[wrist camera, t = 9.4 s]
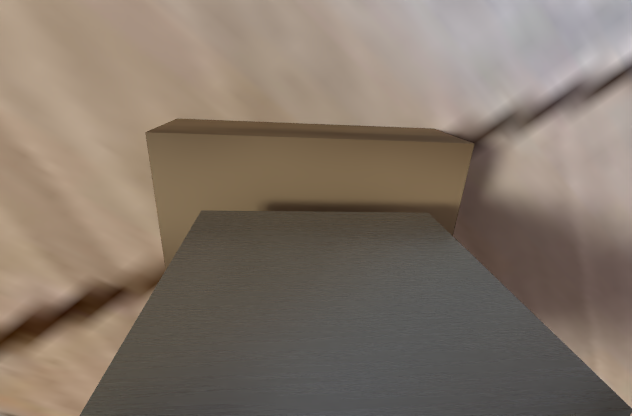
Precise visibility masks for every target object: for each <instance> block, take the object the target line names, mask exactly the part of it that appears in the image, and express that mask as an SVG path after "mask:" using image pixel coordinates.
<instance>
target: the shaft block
mask: <svg viewBox="0 0 632 416" xmlns="http://www.w3.org/2000/svg"><path fill="white" fill-rule="evenodd" d="M145 133H146V139H147V146H148V153H149V160H150V167H151V173H152V180H153V187H154V194H155V201H156V207H157V214H158V221H159V228H160V235H161V241H162V248H163V255H164V262H165V268H166V269H167V267H168V266H169V264H170V262H171V261H172V259H173V257H174V256H175V254H176V252H177V251H178V249H179V247H180V246H181V244H182V242H183V240H184V239H185V237H186V235H187V234H188V232H189V230H190V229H191V227H192V225H193V224H194V222H195V220H196V219H197V217H198V215H199V213H200V212H201V210H210V211H309V212H409V213H429V214H430V215H431V216H432V217H433V218H434V219H435V220H436V221H437V222H438V223H439V224H440V225H442V226H443V227H444V228H445V229H446V230H447V231H448V232H449V233H450V234H451V235H452V236H453V232H454V228H455V224H456V219H457V215H458V211H459V207H460V203H461V198H462V194H463V190H464V186H465V181H466V177H467V173H468V169H469V165H470V160H471V156H472V152H473V148H474V143H471V142H469V141H466V140H463V139H460V138H458V137H455V136H452V135H450V134H447V133H444V132H441V131H439V130H436V129H426V128H401V127H375V126H350V125H324V124H298V123H273V122H247V121H222V120H196V119H175V120H173V121H171V122H168V123H166V124H164V125H161V126H159V127H157V128H154V129H152V130H150V131H147V132H145Z"/></svg>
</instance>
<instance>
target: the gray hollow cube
mask: <svg viewBox="0 0 632 416" xmlns="http://www.w3.org/2000/svg"><path fill="white" fill-rule="evenodd" d="M631 413H632V408H631V407H629V406H628V405H627V404H626V403H625V402H624V401H623V400H622V399H621V398H620V397H619V396H618V395H617V394H616V393H615V392H614V391H613V390H612V389H611V388H610V387H609V386H608V385H607V384H606V383H605V382H604V381H602V380H601V379H600V378H599V377H598V376H597V375H596V374H595V373H594V372H593V371H592V370H591V369H590V368H589V367H588V366H587V365H586V364H585V363H584V362H583V361H582V360H581V359H580V358H579V357H578V356H577V355H575V354H574V353H573V352H572V351H571V350H570V349H569V348H568V347H567V346H566V345H565V344H564V343H563V342H562V341H561V340H560V339H559V338H558V337H557V336H556V335H555V334H554V333H553V332H552V331H551V330H550V329H548V328H547V327H546V326H545V325H544V324H543V323H542V322H541V321H540V320H539V319H538V318H537V317H536V316H535V315H534V314H533V313H532V312H531V311H530V310H529V309H528V308H527V307H526V306H525V305H524V304H523V303H521V302H520V301H519V300H518V299H517V298H516V297H515V296H514V295H513V294H512V293H511V292H510V291H509V290H508V289H507V288H506V287H505V286H504V285H503V284H502V283H501V282H500V281H499V280H498V279H497V278H496V277H494V276H493V275H492V274H491V273H490V272H489V271H488V270H487V269H486V268H485V267H484V266H483V265H482V264H481V263H480V262H479V261H478V260H477V259H476V258H475V257H474V256H473V255H472V254H471V253H470V252H469V251H467V250H466V249H465V248H464V247H463V246H462V245H461V244H460V243H459V242H458V241H457V240H456V239H455V238H454V237H453V236H452V235H451V234H450V233H449V232H448V231H447V230H446V229H445V228H444V227H443V226H442V225H440V224H439V223H438V222H437V221H436V220H435V219H434V218H433V217H432V216H431V215H430V214H429V213H409V212H309V211H210V210H201V212H200V213H199V215H198V217H197V219H196V220H195V222H194V224H193V225H192V227H191V229H190V230H189V232H188V234H187V235H186V237H185V239H184V240H183V242H182V244H181V246H180V247H179V249H178V251H177V252H176V254H175V256H174V257H173V259H172V261H171V262H170V264H169V266H168V267H167V269H166V271H165V273H164V274H163V276H162V278H161V279H160V281H159V283H158V284H157V286H156V288H155V289H154V291H153V293H152V294H151V296H150V298H149V300H148V301H147V303H146V305H145V306H144V308H143V310H142V311H141V313H140V315H139V316H138V318H137V320H136V321H135V323H134V325H133V326H132V328H131V330H130V332H129V333H128V335H127V337H126V338H125V340H124V342H123V343H122V345H121V347H120V348H119V350H118V352H117V353H116V355H115V357H114V359H113V360H112V362H111V364H110V365H109V367H108V369H107V370H106V372H105V374H104V375H103V377H102V379H101V380H100V382H99V384H98V386H97V387H96V389H95V391H94V392H93V394H92V396H91V397H90V399H89V401H88V402H87V404H86V406H85V407H84V409H83V411H82V413H81V414H80V416H630V414H631Z"/></svg>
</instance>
